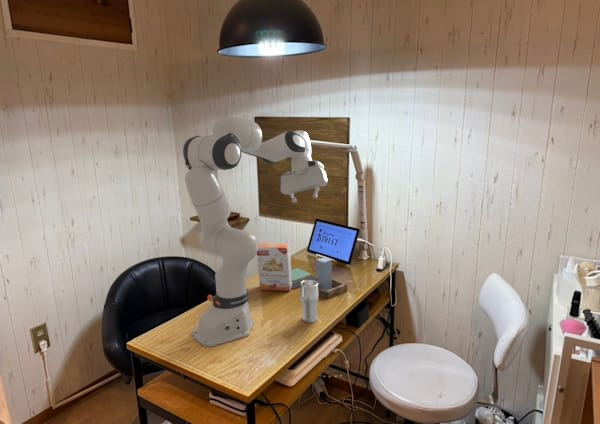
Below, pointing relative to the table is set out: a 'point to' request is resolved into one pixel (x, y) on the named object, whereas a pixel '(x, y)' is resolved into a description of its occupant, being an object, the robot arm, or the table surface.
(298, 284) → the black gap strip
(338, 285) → the dark wooden tray
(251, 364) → the table surface
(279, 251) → the cracker box
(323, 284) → the slate block
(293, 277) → the green felt pad
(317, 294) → the beer glass
